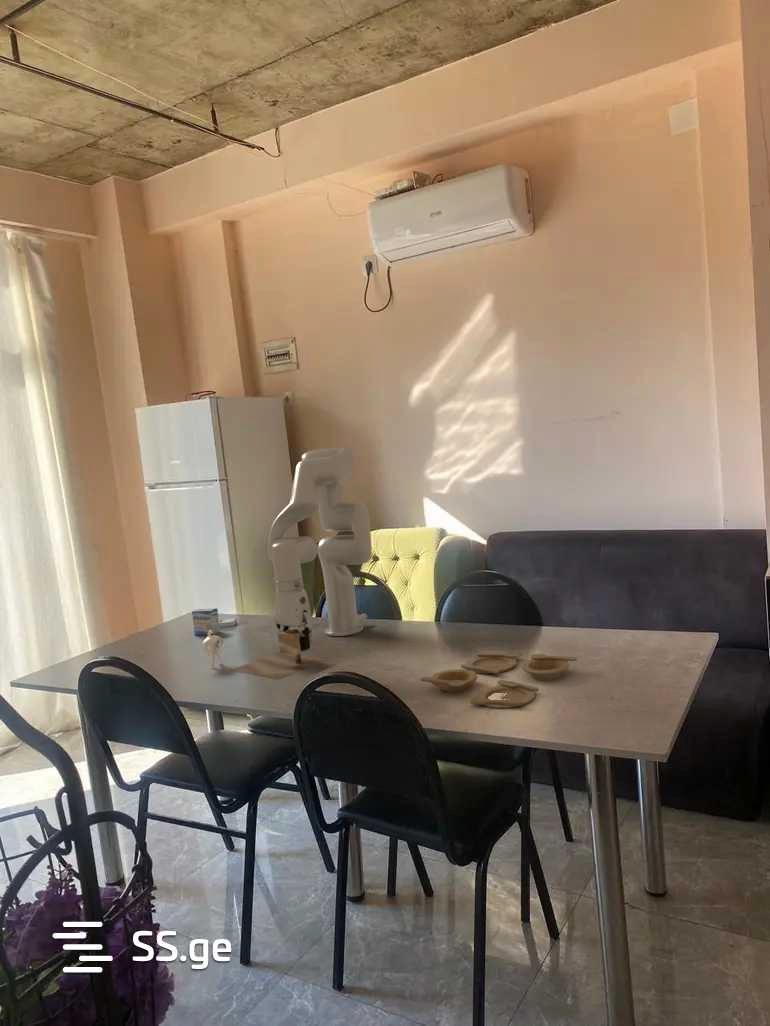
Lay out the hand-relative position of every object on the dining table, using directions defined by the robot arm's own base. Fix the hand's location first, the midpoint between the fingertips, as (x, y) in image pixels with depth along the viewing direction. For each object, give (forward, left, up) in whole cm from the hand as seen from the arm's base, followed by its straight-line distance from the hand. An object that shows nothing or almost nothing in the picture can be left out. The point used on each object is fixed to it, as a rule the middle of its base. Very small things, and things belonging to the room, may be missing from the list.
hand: (296, 647), depth 212 cm
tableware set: (-12, +58, -6) cm, 60 cm away
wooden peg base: (+4, -4, -6) cm, 8 cm away
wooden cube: (0, 0, -1) cm, 1 cm away
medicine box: (-15, -62, -6) cm, 64 cm away
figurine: (+12, -22, -6) cm, 26 cm away
